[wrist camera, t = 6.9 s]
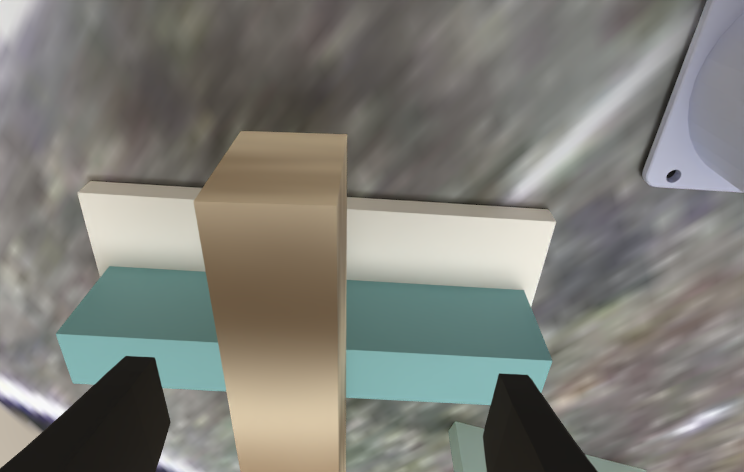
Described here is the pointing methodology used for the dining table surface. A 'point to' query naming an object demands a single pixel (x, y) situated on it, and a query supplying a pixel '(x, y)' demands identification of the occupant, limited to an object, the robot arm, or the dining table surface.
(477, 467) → the l-shaped corner panel
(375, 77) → the dining table surface
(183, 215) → the stand
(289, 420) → the beech bar
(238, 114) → the dining table surface
